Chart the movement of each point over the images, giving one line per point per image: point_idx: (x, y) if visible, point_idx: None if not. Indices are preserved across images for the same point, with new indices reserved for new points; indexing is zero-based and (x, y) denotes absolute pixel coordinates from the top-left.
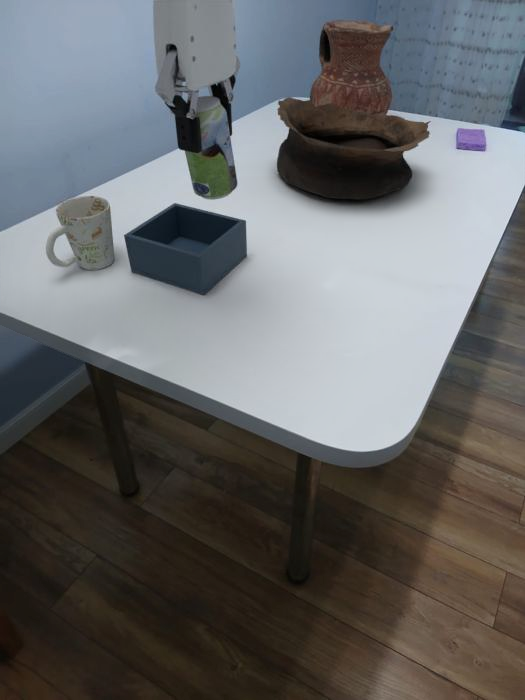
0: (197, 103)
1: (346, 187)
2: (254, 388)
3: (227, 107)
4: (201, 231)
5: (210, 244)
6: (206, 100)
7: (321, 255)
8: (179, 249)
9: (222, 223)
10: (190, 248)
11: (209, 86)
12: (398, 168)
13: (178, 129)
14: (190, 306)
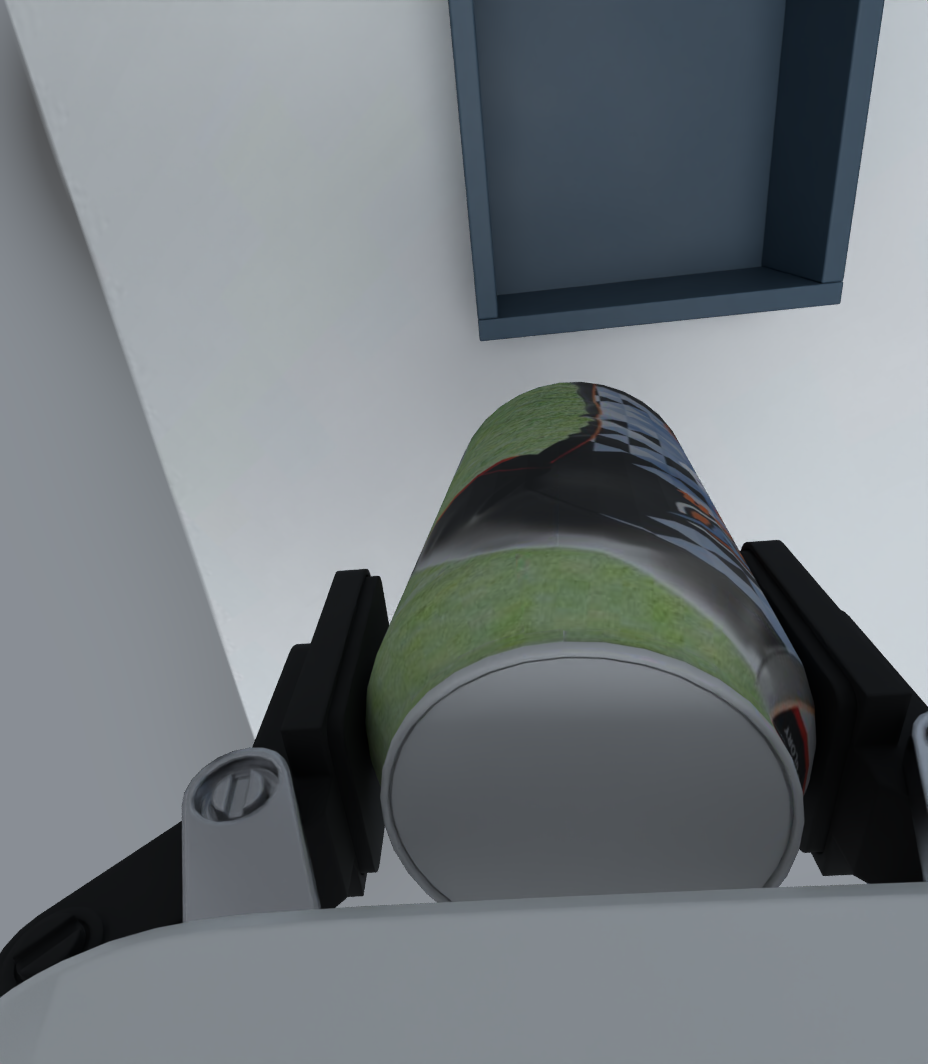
0: (583, 798)
1: None
2: (276, 623)
3: (799, 848)
4: (805, 41)
5: (777, 102)
6: (680, 839)
7: (871, 489)
8: (482, 224)
9: (820, 179)
10: (711, 39)
11: (924, 871)
12: None
13: (271, 710)
14: (409, 314)
